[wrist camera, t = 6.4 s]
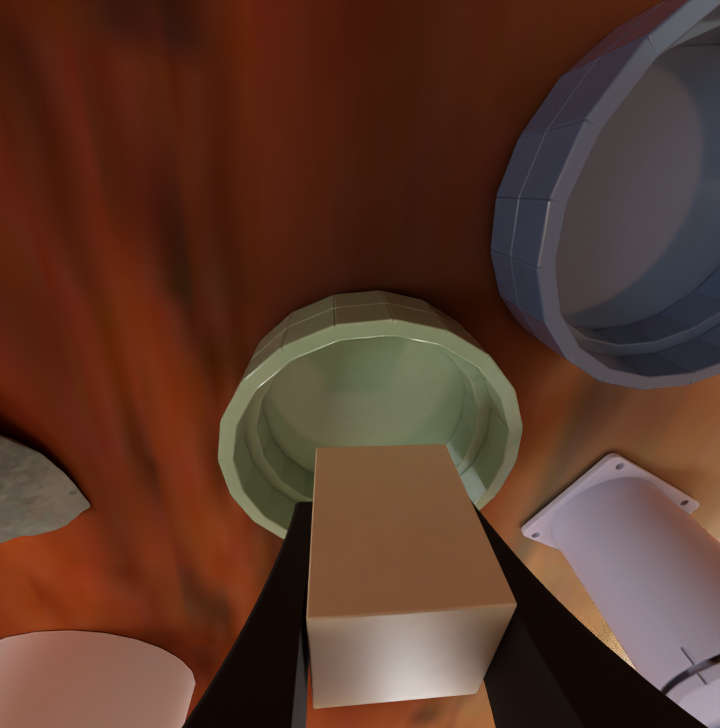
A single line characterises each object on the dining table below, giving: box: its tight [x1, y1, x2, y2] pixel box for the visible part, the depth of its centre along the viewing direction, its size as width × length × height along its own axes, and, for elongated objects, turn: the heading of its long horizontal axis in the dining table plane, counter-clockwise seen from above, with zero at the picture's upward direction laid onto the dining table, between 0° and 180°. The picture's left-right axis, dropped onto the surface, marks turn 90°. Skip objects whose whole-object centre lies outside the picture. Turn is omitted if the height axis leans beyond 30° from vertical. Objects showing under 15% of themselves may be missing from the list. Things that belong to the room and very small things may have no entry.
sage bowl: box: [218, 290, 523, 539], centre depth 15 cm, size 12×12×4 cm
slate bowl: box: [491, 0, 720, 390], centre depth 12 cm, size 12×12×4 cm
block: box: [306, 444, 517, 709], centre depth 10 cm, size 4×4×5 cm
